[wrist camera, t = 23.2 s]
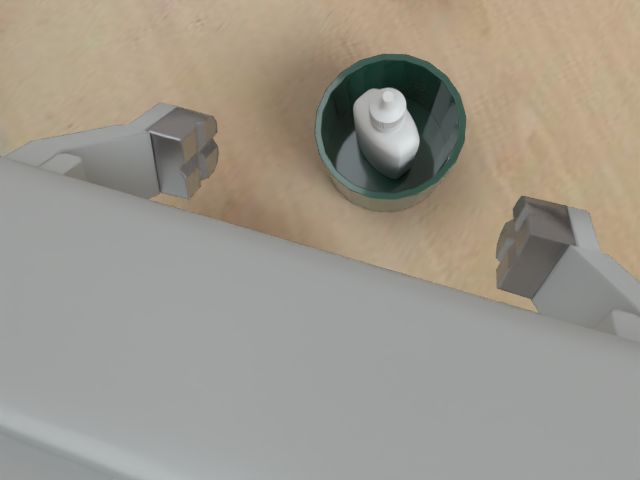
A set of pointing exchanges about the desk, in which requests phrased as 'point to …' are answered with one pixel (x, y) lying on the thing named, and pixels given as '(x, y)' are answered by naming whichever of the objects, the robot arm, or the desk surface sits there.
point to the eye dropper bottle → (386, 131)
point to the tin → (427, 113)
